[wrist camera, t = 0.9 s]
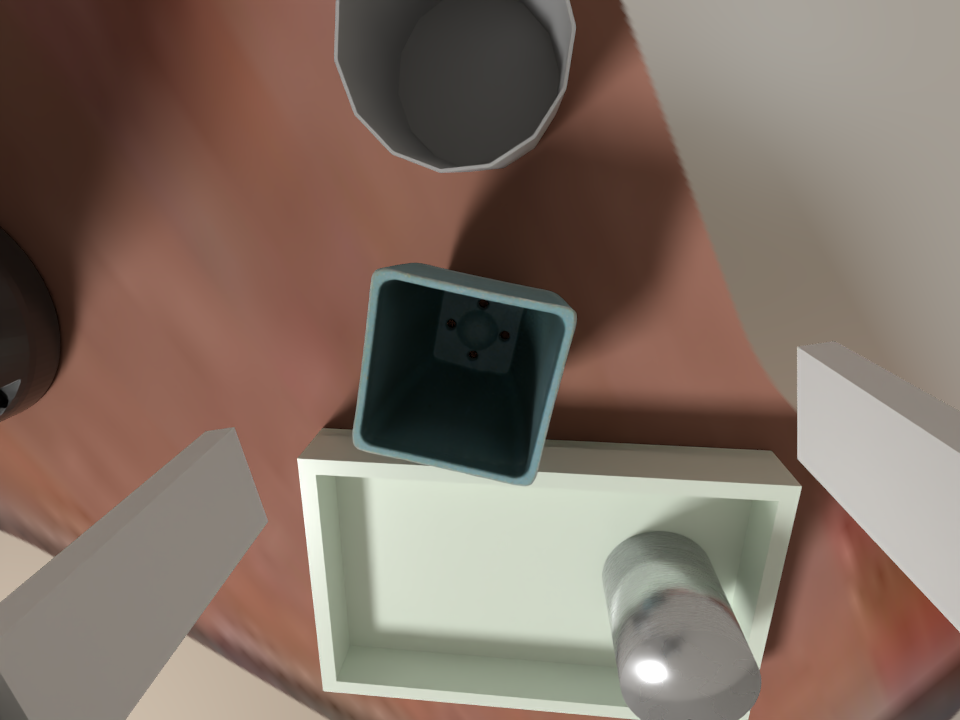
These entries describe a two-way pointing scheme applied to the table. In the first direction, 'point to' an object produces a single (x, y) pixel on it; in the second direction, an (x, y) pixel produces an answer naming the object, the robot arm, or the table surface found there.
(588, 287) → the table surface
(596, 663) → the shallow serving tray
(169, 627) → the robot arm
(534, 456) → the flower pot
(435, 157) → the cup
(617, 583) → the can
